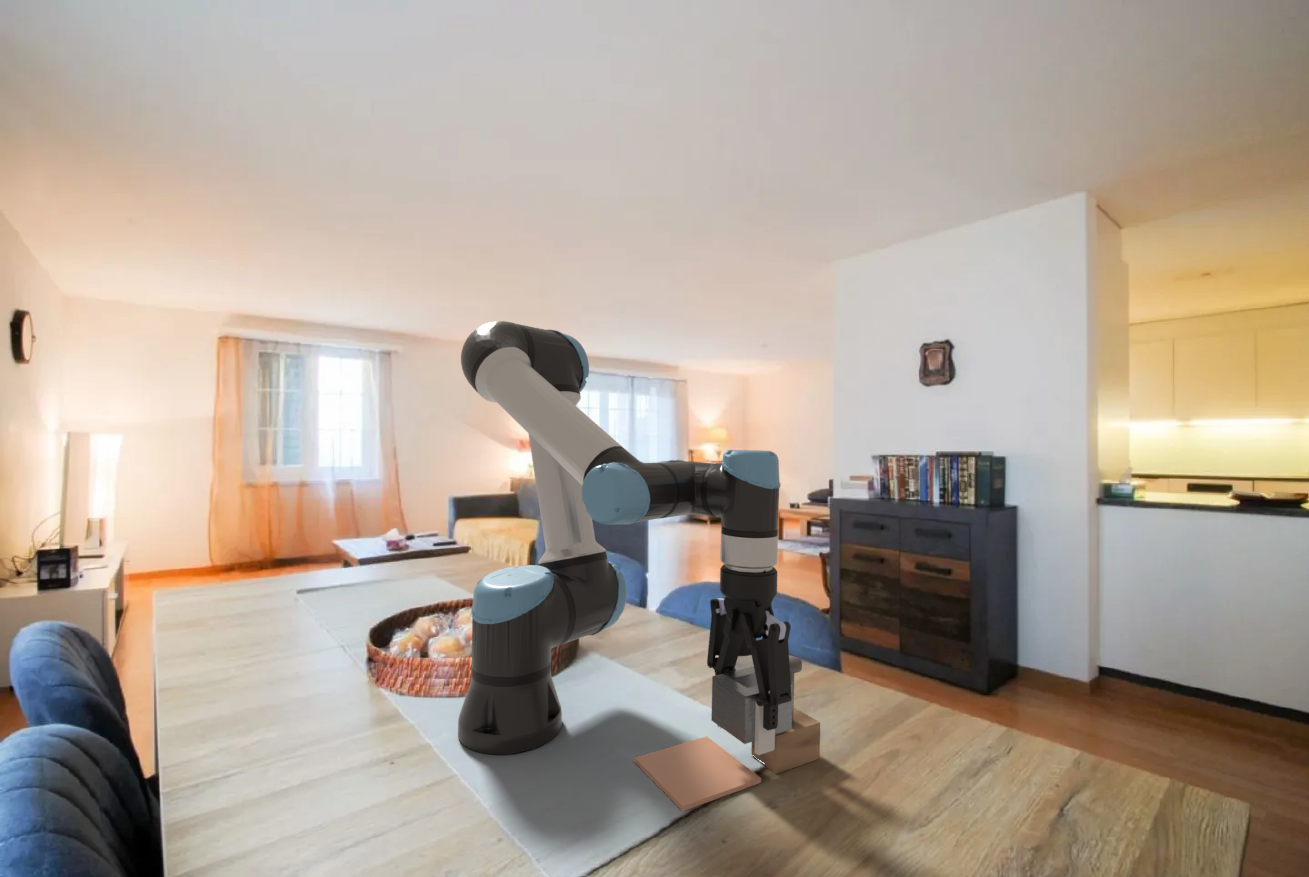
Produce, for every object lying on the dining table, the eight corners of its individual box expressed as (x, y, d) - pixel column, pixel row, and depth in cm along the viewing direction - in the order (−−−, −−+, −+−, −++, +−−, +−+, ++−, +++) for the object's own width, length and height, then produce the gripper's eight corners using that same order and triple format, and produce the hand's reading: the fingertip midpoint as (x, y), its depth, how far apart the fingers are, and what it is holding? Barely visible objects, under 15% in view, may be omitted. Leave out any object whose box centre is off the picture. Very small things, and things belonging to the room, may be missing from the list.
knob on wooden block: (751, 756, 81) (753, 659, 81) (793, 741, 86) (795, 649, 86) (776, 774, 77) (777, 671, 77) (819, 758, 81) (821, 661, 81)
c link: (744, 744, 73) (745, 696, 73) (711, 720, 79) (712, 676, 79) (791, 728, 78) (792, 683, 77) (756, 707, 84) (757, 665, 83)
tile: (634, 761, 79) (634, 757, 79) (706, 740, 86) (706, 736, 86) (682, 811, 69) (682, 806, 69) (760, 782, 75) (761, 777, 75)
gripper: (825, 578, 71) (821, 766, 71) (725, 550, 88) (721, 701, 88) (779, 585, 67) (775, 784, 67) (683, 554, 85) (680, 712, 85)
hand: (745, 737), depth 78 cm, fingers closed on c link, 7 cm apart
